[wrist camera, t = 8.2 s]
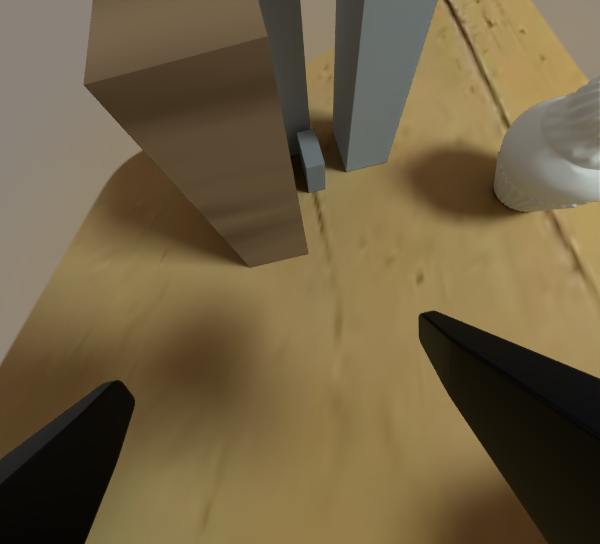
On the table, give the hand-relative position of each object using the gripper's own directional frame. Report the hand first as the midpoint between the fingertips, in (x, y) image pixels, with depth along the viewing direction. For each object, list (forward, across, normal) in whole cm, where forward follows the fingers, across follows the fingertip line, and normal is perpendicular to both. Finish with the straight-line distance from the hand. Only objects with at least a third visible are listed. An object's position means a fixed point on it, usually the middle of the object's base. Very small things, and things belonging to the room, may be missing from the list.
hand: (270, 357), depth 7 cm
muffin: (+10, -16, 0) cm, 19 cm away
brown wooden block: (+12, 0, -2) cm, 13 cm away
